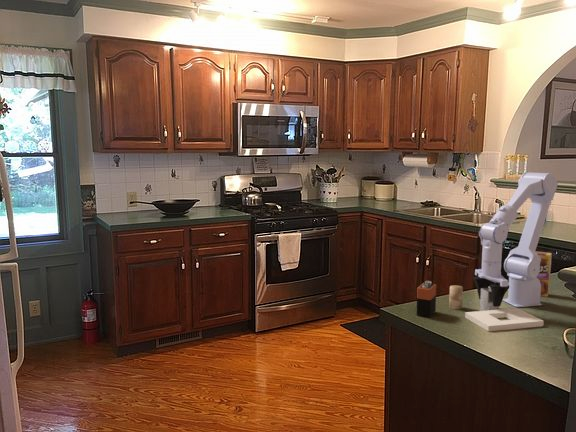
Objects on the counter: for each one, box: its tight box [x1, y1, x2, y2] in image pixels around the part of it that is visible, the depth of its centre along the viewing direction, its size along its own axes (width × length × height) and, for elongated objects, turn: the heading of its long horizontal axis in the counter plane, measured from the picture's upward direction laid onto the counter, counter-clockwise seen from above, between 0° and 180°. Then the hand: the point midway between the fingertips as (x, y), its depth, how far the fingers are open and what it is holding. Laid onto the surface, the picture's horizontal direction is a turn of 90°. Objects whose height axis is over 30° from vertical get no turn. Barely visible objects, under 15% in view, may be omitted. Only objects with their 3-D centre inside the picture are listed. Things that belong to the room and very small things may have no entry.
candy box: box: [521, 250, 553, 297], centre depth 174 cm, size 9×4×15 cm, turn 56°
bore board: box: [464, 307, 545, 332], centre depth 148 cm, size 18×12×2 cm, turn 102°
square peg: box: [479, 287, 500, 311], centre depth 158 cm, size 4×4×7 cm
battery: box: [416, 280, 437, 318], centre depth 155 cm, size 4×7×10 cm, turn 148°
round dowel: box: [448, 284, 464, 311], centre depth 161 cm, size 4×4×7 cm
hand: (489, 302), depth 158 cm, fingers open, 7 cm apart
